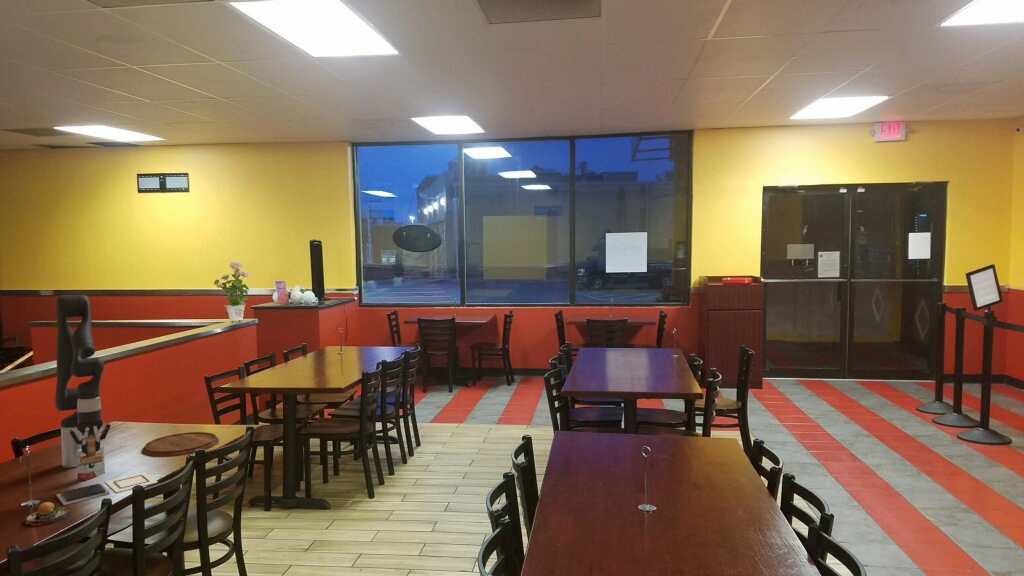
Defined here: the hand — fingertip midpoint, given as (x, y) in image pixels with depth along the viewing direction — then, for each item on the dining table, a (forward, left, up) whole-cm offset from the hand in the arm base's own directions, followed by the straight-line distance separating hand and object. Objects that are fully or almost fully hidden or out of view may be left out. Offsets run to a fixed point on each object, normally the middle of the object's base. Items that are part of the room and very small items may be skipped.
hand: (90, 451), depth 232 cm
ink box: (-11, +2, -13) cm, 17 cm away
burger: (+25, -18, -13) cm, 34 cm away
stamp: (0, 0, -4) cm, 4 cm away
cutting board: (-27, +41, -14) cm, 51 cm away
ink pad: (+10, -5, -13) cm, 17 cm away
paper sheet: (+9, +11, -13) cm, 19 cm away
